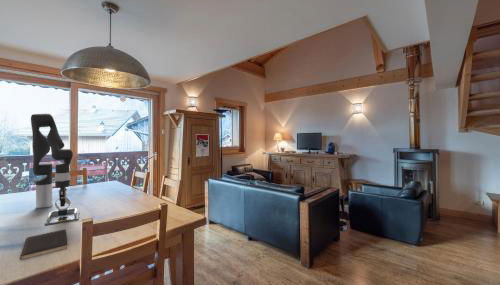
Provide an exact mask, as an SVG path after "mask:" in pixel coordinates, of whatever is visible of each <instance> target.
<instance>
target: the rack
mask: <svg viewBox="0 0 500 285" xmlns="http://www.w3.org/2000/svg"><path fill="white" fill-rule="evenodd" d="M58 210H59V209H57V210H51V211H50V212H49V214H48V215H47V218H46V220H45V222H44V226H50V225H56V224H57V225H58V224H62V223H69V222H74V221H79V216H80V210H78V207H74V208H67V215H62V216H58Z"/></svg>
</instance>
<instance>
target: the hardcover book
mask: <svg viewBox="0 0 500 285" xmlns="http://www.w3.org/2000/svg"><path fill="white" fill-rule="evenodd" d="M68 245H69V244H68V236H67V229H66V228H65V229H62V230H56V231H52V232H45V233H40V234H37V235H31V236H27V237H26V238H25V240H24V244H23V247H22V250H21V254H20V261H21V260H23V259H28V258H32V257H35V256H40V255H43V254H47V253H52V252H56V251H60V250H64V249H67V246H68Z"/></svg>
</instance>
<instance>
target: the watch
mask: <svg viewBox="0 0 500 285" xmlns="http://www.w3.org/2000/svg"><path fill="white" fill-rule="evenodd" d="M62 198H64V197H61V199H62ZM59 199H60V197H59V198H57V199H56V200H55V202H54V207H55V208H56V209H57V210H58V216H62V215H67V209H69V207H70V206H71V203H72V202H71V200H70V198H69V197H67V196H66V198H65V202H66V204H67V205H68V206H67V207H64V208H60V207H59V205H58V204H57V201H58V200H59ZM59 201H60V200H59Z"/></svg>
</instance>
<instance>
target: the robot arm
mask: <svg viewBox="0 0 500 285" xmlns="http://www.w3.org/2000/svg"><path fill="white" fill-rule="evenodd" d="M56 124H57V123H56V122H55V118H54V117H53V115H52V114H50V113H33V114H31V116H30V125H31V132H32V153H33V154H32V155H33V156H32V157H33V158H32V159H33V160H32V173H33V176H36V177H37V176H45V177H43V178H41V179H38V180H36V181H35V208H37V209H45V208H49V207H52V206H53V205H54V204H53V164H52V163H51V162H45V163H44V162H42V163H40V162H41V161H42V160H43V159H44V158H45V157H46V156H47V155H48V153H50V152H51V158H52V159H53V160H55V161H62V162H60V163H57V164H56V165H55V176H54V186H55V188H57V189H58V188H59V190H58V197H59V198H60V199H59V198H58V199H59V203H60V204H59V205H60V207H65V205H66V204H67V203H66V202H65V198H66V197H67V193H68V187H70V186H71V172H70V165H71V163H72V159H73V156H74V152H73V150H71V149H69V148H65V143H64V142H63V139H62V138H61V136H60V133H59V131H58V127H57V125H56ZM48 127H49V131H48V134H47V135H46V136H45V135H44V134H43V133H42V132H41V131H40V128H48ZM61 197H64V198H62V199H61Z"/></svg>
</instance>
